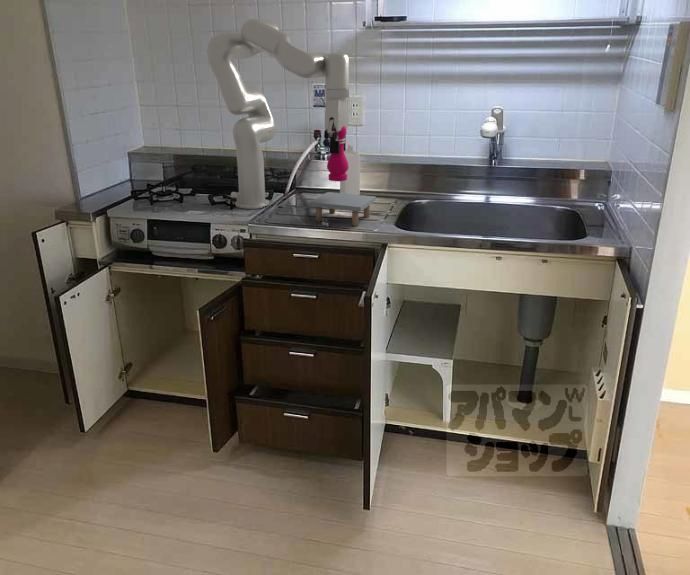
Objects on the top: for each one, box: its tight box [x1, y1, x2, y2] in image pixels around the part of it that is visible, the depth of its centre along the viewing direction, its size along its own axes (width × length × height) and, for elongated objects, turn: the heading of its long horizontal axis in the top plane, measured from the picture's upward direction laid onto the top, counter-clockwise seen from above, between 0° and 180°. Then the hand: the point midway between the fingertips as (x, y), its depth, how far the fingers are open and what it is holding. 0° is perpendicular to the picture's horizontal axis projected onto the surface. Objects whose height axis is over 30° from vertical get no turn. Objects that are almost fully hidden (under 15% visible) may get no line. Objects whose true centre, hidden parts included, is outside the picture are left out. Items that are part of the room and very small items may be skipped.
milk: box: [339, 143, 361, 195], centre depth 222 cm, size 6×6×22 cm
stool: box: [309, 191, 377, 227], centre depth 206 cm, size 18×16×7 cm
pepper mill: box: [326, 126, 349, 182], centre depth 199 cm, size 7×7×20 cm
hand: (337, 151), depth 200 cm, fingers closed on pepper mill, 5 cm apart
